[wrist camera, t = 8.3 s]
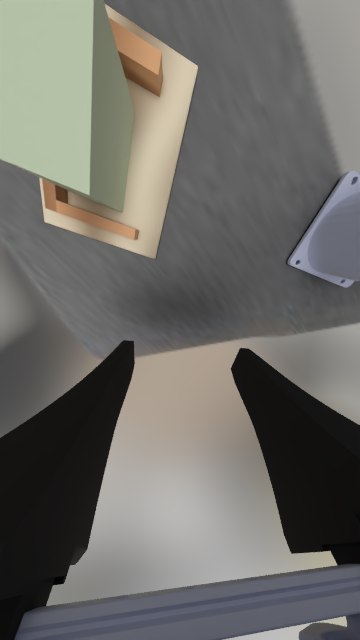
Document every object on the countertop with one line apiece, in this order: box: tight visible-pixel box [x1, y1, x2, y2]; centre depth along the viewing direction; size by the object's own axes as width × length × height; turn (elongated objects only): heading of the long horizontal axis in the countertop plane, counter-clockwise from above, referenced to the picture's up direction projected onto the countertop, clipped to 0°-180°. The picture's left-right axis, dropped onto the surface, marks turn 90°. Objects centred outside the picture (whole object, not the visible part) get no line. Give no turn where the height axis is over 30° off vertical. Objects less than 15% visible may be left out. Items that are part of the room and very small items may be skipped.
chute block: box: [0, 0, 135, 213], centre depth 8 cm, size 4×6×6 cm, turn 161°
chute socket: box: [39, 5, 198, 259], centre depth 10 cm, size 10×12×2 cm
